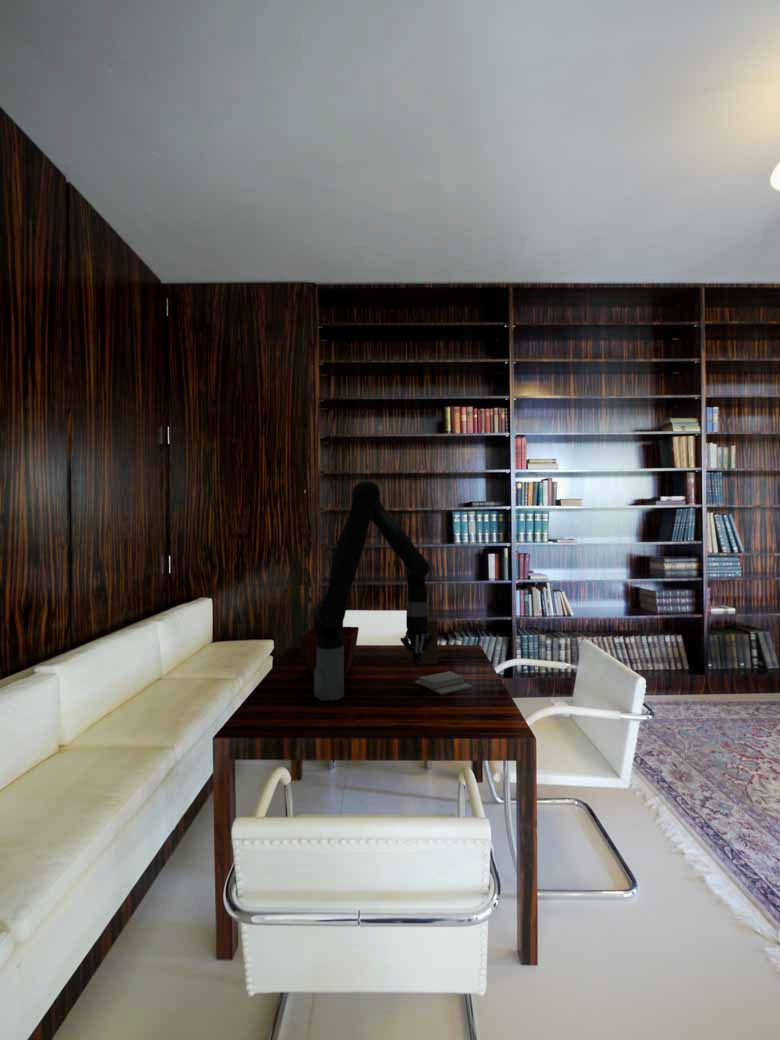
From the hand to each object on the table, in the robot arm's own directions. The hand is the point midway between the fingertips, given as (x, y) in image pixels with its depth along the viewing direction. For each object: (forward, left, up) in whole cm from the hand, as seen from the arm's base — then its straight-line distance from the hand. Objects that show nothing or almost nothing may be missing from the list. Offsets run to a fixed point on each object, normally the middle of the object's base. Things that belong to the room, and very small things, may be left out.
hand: (416, 663), depth 187 cm
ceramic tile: (+4, 0, -8) cm, 9 cm away
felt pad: (+12, 0, -10) cm, 15 cm away
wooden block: (+24, +27, -10) cm, 37 cm away
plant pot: (-16, +35, -10) cm, 40 cm away
